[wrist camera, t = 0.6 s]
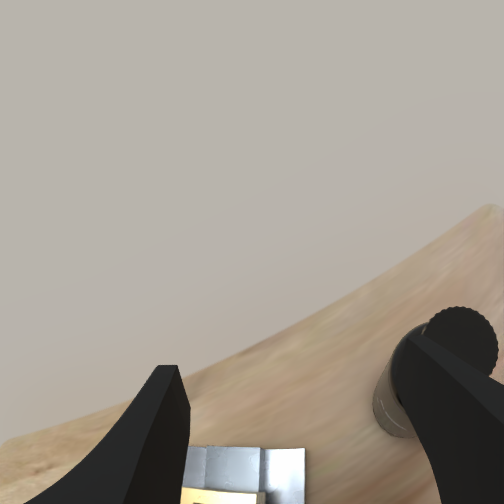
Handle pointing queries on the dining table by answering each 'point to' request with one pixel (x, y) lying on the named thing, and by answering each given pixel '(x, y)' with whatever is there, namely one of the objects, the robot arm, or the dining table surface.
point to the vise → (249, 471)
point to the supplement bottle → (449, 337)
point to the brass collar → (220, 496)
